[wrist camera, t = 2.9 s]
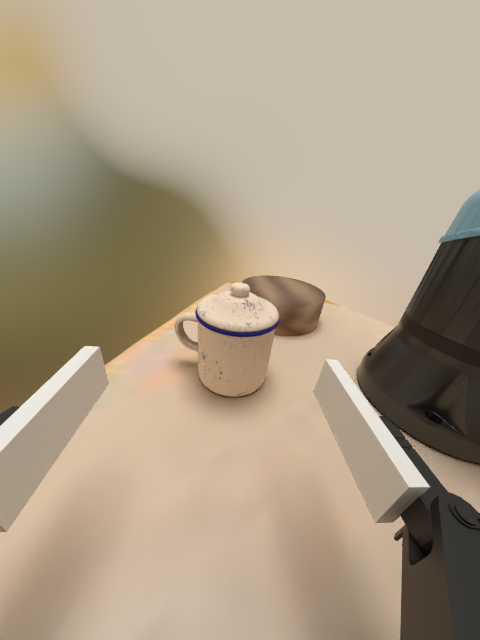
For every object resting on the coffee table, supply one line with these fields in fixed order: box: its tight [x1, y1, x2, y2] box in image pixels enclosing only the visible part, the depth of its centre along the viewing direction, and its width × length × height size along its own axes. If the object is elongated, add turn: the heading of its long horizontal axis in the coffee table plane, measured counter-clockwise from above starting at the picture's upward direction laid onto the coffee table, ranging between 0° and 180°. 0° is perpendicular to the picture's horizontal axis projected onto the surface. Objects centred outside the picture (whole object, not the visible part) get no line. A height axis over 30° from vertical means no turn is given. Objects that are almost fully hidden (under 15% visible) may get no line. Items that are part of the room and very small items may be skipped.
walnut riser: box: [242, 276, 325, 336], centre depth 41 cm, size 16×16×6 cm
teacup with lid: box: [175, 283, 279, 397], centre depth 24 cm, size 12×9×12 cm
